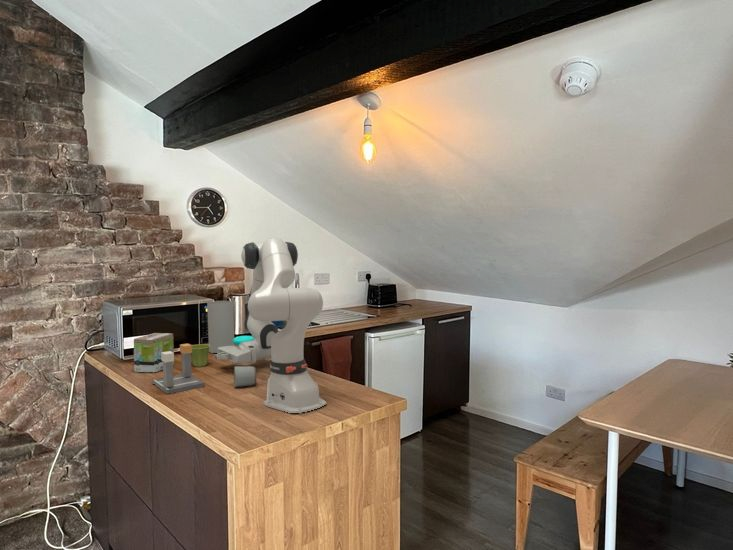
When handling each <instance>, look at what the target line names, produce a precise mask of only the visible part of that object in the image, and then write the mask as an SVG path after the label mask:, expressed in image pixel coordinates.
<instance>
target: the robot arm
mask: <svg viewBox="0 0 733 550" xmlns="http://www.w3.org/2000/svg"><path fill="white" fill-rule="evenodd" d="M240 255H241V257H240V258H241V262H242V263H243V265H244V267H245V268H246V269H250V270H252V284H251V286H250V287H251V288H250V292H249V298H248V301H247V310H248V311H247V315H246V317H245V320H244V323H243V324H244V329H245V330H246V331H247V332H248V333H250V334H251V336H252V337H253V338H254V340H253V341H248V342H242V343H240V344H239V346H238V345H235V346H224V347H219V348H217V354H214V355H213V358H214V359H215V360H218V361H219V360H227V361H229V362H233V363H234V364H241V365H242V364H249V363H250V364H255V363H257V360H265V359H270V360H269V370H270V375H269V377H268V379H267V386H266V387H267V388H266V400H264V401H263V406H265V407H268V408H272V409H273V410H279V411H281V412H284V411H285V413H287V412H288V414H290V413H299V414H303V413H302V412H305V413H308V412H307V411H310V412H312V411H311V410H313V411H315V410H314V409H317V408H320V407H322V406H324V405H325V404H326V403H327V401H326V400H324V399H323V398H322V397H321V396H320V390H319V384H318V382H317V381H314V379H313V378H312V377H311V375H310V374H309V372H308V370H307V369H308V363H306V360H305V358H304V349H305V348H304V345H305V343H304V342H305V335H306V332H307V330H308V327H309V326H310V324H311V323H312V322H313V321H314V319H316V318H317V317H318V316H319V315H320V314H321V312H322V310H323V306H324V299H323V296H322V294H321V292H320V291H319V290H318V289H316V288H309V287H291V288H290V286H291V285H292V284H293V282H295V279H296V271H295V266H296V264H297V263H298V259H299V252H298V249H297V246H296V245H295V244H294V243H293V242H289V241H284V240H282V239H281V238H278V237H272V238H268V239H266V240H265V241H259V242H248V243H246V244H245V245H243V247H242V250H241V254H240ZM280 321H282V322H283V321H287V323H286V325H285V327H283V328H282V329H281V330H279V328H278V327H277V325H276V324H275V323H273V322H280ZM324 407H325V406H324ZM322 408H323V407H322ZM320 409H321V408H320ZM317 410H318V409H317Z"/></svg>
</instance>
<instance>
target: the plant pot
mask: <svg viewBox="0 0 733 550" xmlns="http://www.w3.org/2000/svg"><path fill="white" fill-rule="evenodd" d="M191 345H192V353H191V364H192V367H197V368H200V367H205V366H207V365H208V361H209V353H210V352H209V348H210V345H209V344H206V343H205V344H201V343H199V344H191Z"/></svg>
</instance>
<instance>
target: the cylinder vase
mask: <svg viewBox="0 0 733 550" xmlns="http://www.w3.org/2000/svg"><path fill="white" fill-rule="evenodd" d="M206 305H207V307H206V308H207V332H208V333H207V334H208V345H210V348H209V352H208V353H210V354H214V353H217V348H219V347H224V346H236V345H235V344H234V343H233V339H234V338H235V322H234V321H235V319H234V301H232V300H216V301H209V302H207V304H206Z"/></svg>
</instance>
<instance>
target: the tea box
mask: <svg viewBox="0 0 733 550" xmlns="http://www.w3.org/2000/svg"><path fill="white" fill-rule="evenodd" d="M174 349H175V347H174V333H169V332H167V333H163V332H153V333H149V334H146V335H142V336H139V337H137V338H134V339H133V363H134V364H133V368H134V371H137V372H156V373H157V372H160V371H162V370H163V361H162V360H161V352H167V351H171V352H173V353H174V354H175V351H174ZM173 364H174V365H175V360H174V361H173ZM137 372H136V373H137Z"/></svg>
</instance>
